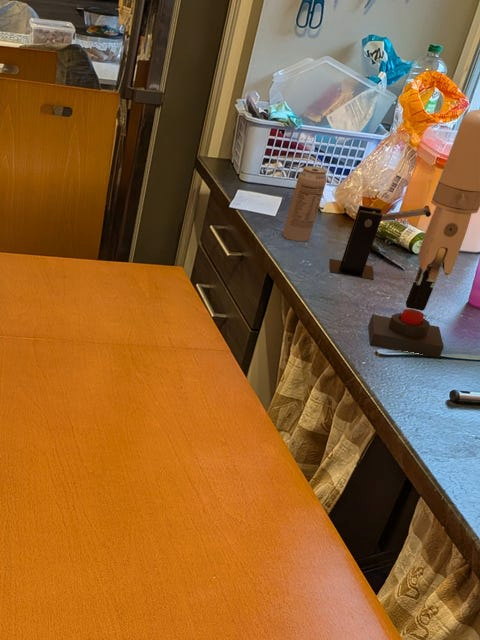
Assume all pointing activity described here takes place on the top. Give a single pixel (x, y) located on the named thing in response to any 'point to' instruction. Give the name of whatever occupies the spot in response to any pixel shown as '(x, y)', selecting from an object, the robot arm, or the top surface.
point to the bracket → (359, 245)
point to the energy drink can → (305, 203)
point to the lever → (406, 214)
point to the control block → (405, 335)
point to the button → (412, 317)
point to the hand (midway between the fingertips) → (414, 307)
